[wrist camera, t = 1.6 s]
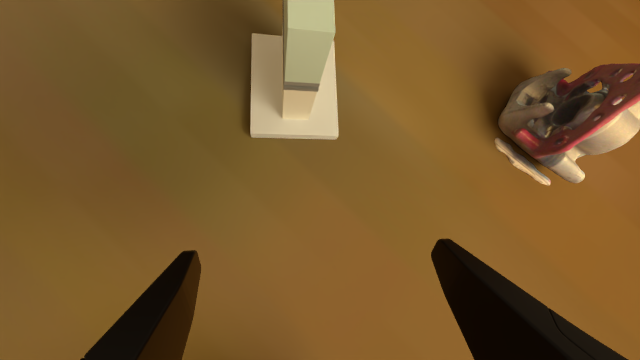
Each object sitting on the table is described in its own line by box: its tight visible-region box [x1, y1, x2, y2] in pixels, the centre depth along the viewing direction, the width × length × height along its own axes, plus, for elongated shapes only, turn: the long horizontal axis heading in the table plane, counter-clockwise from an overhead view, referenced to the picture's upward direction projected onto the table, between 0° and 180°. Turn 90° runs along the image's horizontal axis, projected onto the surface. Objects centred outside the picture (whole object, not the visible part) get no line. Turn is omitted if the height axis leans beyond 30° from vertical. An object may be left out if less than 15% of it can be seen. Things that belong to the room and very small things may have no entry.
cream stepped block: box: [250, 15, 338, 139], centre depth 22 cm, size 10×8×6 cm
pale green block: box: [283, 0, 335, 87], centre depth 16 cm, size 7×2×5 cm, turn 2°
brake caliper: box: [495, 64, 640, 185], centre depth 25 cm, size 11×11×12 cm
